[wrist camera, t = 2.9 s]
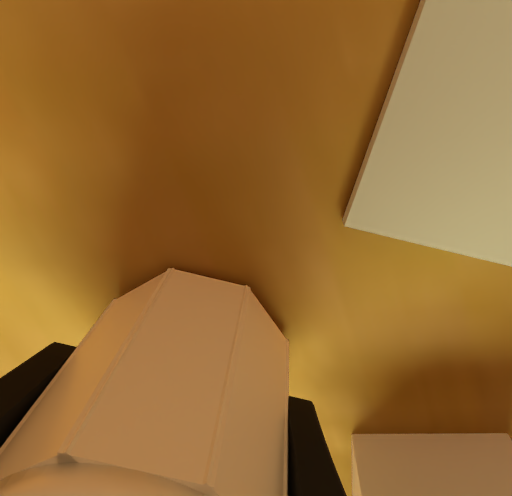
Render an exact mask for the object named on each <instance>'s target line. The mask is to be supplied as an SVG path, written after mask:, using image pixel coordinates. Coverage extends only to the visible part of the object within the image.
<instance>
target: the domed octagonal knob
mask: <svg viewBox="0 0 512 496" xmlns="http://www.w3.org/2000/svg"><path fill="white" fill-rule="evenodd" d="M250 288H251V287H248V286H247V285H245V286H243V285H239V284H235V283H231V282H226V281H222V280H218V279H214V278H210V277H205V276H201V275H197V274H193V273H188V272H184V271H180V270H176V269H174V268H168V269H167V271H166V272H164V273H162V274H160V275H159V276H157V277H155V278H153V279H151V280H150V281H148V282H146V283H144V284H142V285H141V286H139V287H137V288H135V289H134V290H132V291H130V292H128V293H126V294H125V295H123V296H121V297H119V298H117V299H113V300H112V302H111V303H110V304H109V306H108V307H107V308H106V309H105V311H104V312H103V313H102V315H101V316H100V317H99V319H98V320H97V321H96V323H95V324H94V325H93V327H92V328H91V329H90V331H89V332H88V333H87V335H86V336H85V337H84V338H83V340H82V341H81V342H80V344H79V345H78V346H77V348H76V349H75V350H74V352H73V353H72V354H71V356H70V357H69V358H68V360H67V361H66V362H65V364H64V365H63V366H62V367H61V369H60V370H59V371H58V373H57V374H56V375H55V377H54V378H53V379H52V381H51V382H50V383H49V385H48V386H47V387H46V389H45V390H44V391H43V393H42V394H41V395H40V396H39V398H38V399H37V400H36V402H35V403H34V404H33V406H32V407H31V408H30V410H29V411H28V412H27V414H26V415H25V416H24V418H23V419H22V420H21V422H20V423H19V424H18V425H17V427H16V428H15V429H14V431H13V432H12V433H11V435H10V436H9V437H8V439H7V440H6V441H5V443H4V444H3V445H2V447H1V448H0V496H288V398H289V339H286V338H285V337H284V335H283V334H282V333H281V331H280V330H279V328H278V327H277V326H276V324H275V323H274V322H273V320H272V319H271V317H270V316H269V315H268V313H267V312H266V311H265V309H264V308H263V306H262V305H261V304H260V302H259V301H258V300H257V298H256V297H255V295H254V294H253V293H252V291H251V290H250Z"/></svg>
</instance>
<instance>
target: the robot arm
mask: <svg viewBox="0 0 512 496" xmlns="http://www.w3.org/2000/svg"><path fill="white" fill-rule="evenodd" d="M76 348H77V347H74V346H70V345H65V344H61V343H57V342H54V343H52V344H50V345H49V346H47V347H46V348H44V349H43V350H41V351H40V352H38V353H37V354H35V355H34V356H32V357H31V358H29V359H28V360H27V361H25V362H24V363H22V364H21V365H19V366H18V367H16V368H15V369H13V370H12V371H10V372H9V373H7V374H6V375H4V376H3V377H1V378H0V448H1V447H2V445H3V444H4V443H5V441H6V440H7V439H8V437H9V436H10V435H11V433H12V432H13V431H14V429H15V428H16V427H17V425H18V424H19V423H20V422H21V420H22V419H23V418H24V416H25V415H26V414H27V412H28V411H29V410H30V408H31V407H32V406H33V404H34V403H35V402H36V400H37V399H38V398H39V396H40V395H41V394H42V393H43V391H44V390H45V389H46V387H47V386H48V385H49V383H50V382H51V381H52V379H53V378H54V377H55V375H56V374H57V373H58V371H59V370H60V369H61V367H62V366H63V365H64V364H65V362H66V361H67V360H68V358H69V357H70V356H71V354H72V353H73V352H74V350H75V349H76ZM288 496H347V495H346V493H345V491H344V488H343V486H342V483H341V481H340V478H339V476H338V473H337V471H336V468H335V466H334V463H333V460H332V458H331V455H330V452H329V449H328V447H327V444H326V441H325V438H324V435H323V432H322V429H321V426H320V423H319V420H318V417H317V414H316V411H315V407H314V405H313V403H312V402H311V401H308V400H304V399H300V398H295V397H291V396H289V398H288Z"/></svg>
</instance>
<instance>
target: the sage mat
mask: <svg viewBox="0 0 512 496" xmlns="http://www.w3.org/2000/svg"><path fill="white" fill-rule="evenodd" d="M342 221H343V224H344V226H345V227H350V228H354V229H358V230H362V231H366V232H370V233H374V234H379V235H383V236H387V237H391V238H395V239H399V240H404V241H408V242H412V243H416V244H420V245H424V246H428V247H433V248H437V249H441V250H445V251H449V252H453V253H458V254H462V255H466V256H470V257H474V258H478V259H482V260H487V261H491V262H495V263H499V264H503V265H507V266H512V0H420V3H419V6H418V9H417V12H416V14H415V17H414V20H413V23H412V26H411V28H410V31H409V34H408V37H407V40H406V42H405V45H404V48H403V51H402V54H401V56H400V59H399V62H398V65H397V68H396V70H395V73H394V76H393V79H392V82H391V85H390V87H389V90H388V93H387V96H386V99H385V101H384V104H383V107H382V110H381V113H380V115H379V118H378V121H377V124H376V127H375V129H374V132H373V135H372V138H371V141H370V143H369V146H368V149H367V152H366V155H365V157H364V160H363V163H362V166H361V169H360V172H359V174H358V177H357V180H356V183H355V186H354V188H353V191H352V194H351V197H350V200H349V202H348V205H347V208H346V211H345V214H344V216H343V219H342Z"/></svg>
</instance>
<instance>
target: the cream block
mask: <svg viewBox="0 0 512 496" xmlns="http://www.w3.org/2000/svg"><path fill="white" fill-rule="evenodd" d="M352 496H512V440H511V438H510V436H509V435H508V433H443V434H352Z"/></svg>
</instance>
